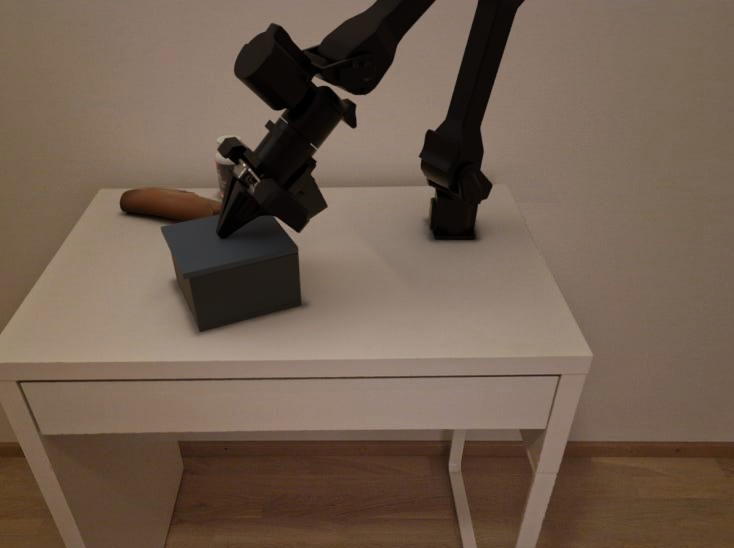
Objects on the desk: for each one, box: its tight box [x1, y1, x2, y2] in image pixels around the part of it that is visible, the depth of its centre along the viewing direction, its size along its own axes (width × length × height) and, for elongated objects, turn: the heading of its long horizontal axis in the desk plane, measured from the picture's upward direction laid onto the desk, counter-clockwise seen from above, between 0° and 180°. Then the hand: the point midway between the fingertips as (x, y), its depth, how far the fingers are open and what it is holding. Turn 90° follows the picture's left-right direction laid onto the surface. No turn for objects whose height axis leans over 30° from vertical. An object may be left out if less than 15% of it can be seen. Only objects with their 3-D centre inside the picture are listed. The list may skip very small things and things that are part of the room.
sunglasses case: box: [119, 187, 222, 222], centre depth 97 cm, size 18×7×7 cm, turn 69°
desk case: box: [170, 252, 303, 333], centre depth 77 cm, size 14×13×8 cm
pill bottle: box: [214, 134, 243, 199], centre depth 100 cm, size 5×5×10 cm
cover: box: [160, 214, 299, 279], centre depth 74 cm, size 14×13×1 cm
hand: (219, 236), depth 74 cm, fingers closed, pressing on cover
